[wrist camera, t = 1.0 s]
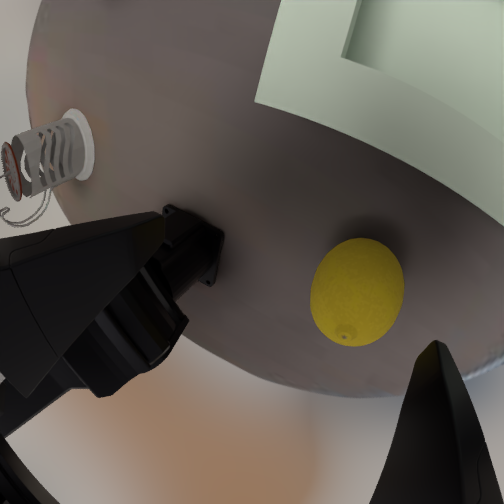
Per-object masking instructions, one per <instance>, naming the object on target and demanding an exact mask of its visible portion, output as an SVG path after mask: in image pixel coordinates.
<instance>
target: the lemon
mask: <svg viewBox="0 0 504 504" xmlns="http://www.w3.org/2000/svg"><path fill="white" fill-rule="evenodd" d="M403 295H404V278H403V273H402V269H401V266H400V264H399V262H398V260H397V258H396V256H395V255H394V254H393V253H392V252H391V251H390V250H389V249H388V248H387V247H386V246H385V245H383V244H381V243H380V242H378V241H375V240H372V239H367V238H355V239H349V240H347V241H344V242H342V243H340V244H338V245H337V246H336V247H334V248H333V249H332V250H330V251H329V252H328V253H327V254H326V256H325V257H324V259H323V260H322V261H321V263H320V264H319V266H318V267H317V270H316V273H315V276H314V279H313V282H312V286H311V295H310V307H311V312H312V316H313V319H314V321H315V323H316V325H317V326H318V328H319V329H320V331H321V332H322V333H323V334H324V335H325V336H326V337H328V338H329V339H331V340H332V341H334V342H336V343H338V344H341V345H345V346H363V345H366V344H369V343H372V342H374V341H376V340H377V339H379V338H381V337H382V336H383V335H384V334H385V333H386V332H387V331H388V330H389V329H390V328H391V326H392V325H393V324H394V322H395V320H396V318H397V315H398V313H399V311H400V309H401V306H402V302H403Z"/></svg>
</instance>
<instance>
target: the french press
mask: <svg viewBox="0 0 504 504" xmlns="http://www.w3.org/2000/svg"><path fill="white" fill-rule="evenodd" d="M46 130H47V131H46ZM51 130H52V131H54V133H53V136H52V139H51V134H50V133H51ZM38 132H39V136H38V135H37V134H36V133H38ZM43 134H44V135H45V139H44V143H43V146H42V145H41V139H42V136H43ZM46 145H47V146H46ZM41 148H42V149H41ZM45 148H46V154H45V152H44V151H45ZM23 150H25V152H26V156H25V160H24V162H25V170H26V172H27V174H28V175H29V177H30V178H31V181H32V182H29V181H27V180H26V179H25V177H24V176H23V174H22V172H21V167H20V161H21V157H22V154H23ZM1 153H2V154H1V155H2V157H1V158H2V159H1V160H2V162H3V163H2V164H3V169H4V171H3V172H4V175H2V176H0V178H2V177H4V176H5V177H6V178H5V179H6V182H7V186H8V189H9V191H11V192H10V193H12V194H11V195H12V197H13V198H14V200H16V201H20V200H21V197H22V193H23V195H25V196H26V197H28V196H30V195H31V197H33V196H35V195H37V194H39V193H41V192H43V191H45V192H44V198H43V201H42V203H41V206H40V207H39V208H38V210H37V211H36V212H35V213H34V214H33V215H32V216H30V217H29V218H28V219H26V220H24V221H21V222H10V221H8V220H5V219H4V218H3V216H4V215H5V214H6V213H7V212H9V210H10V208H8V207H5V208H3V209H1V210H0V218H1V219H2V220H3V221H5V222H6V223H7V224H8V225H10V226H12V227H25V226H28V225H30V224H31V223H33V222H34V221H36V220H37V219H38V218H39V217H40V216H42V214H43V213H44V212H45V210H46V208H47V206H48V204H49V201H50V196H51V191H52V189H53V188H54V187H56V186H58V185H60V184H62V183H65V182H67V181H69V180H71V179H73V178H76V179H78V180H80V181H82V180H87V179H88V177H89V176H90V175H91V173H92V170H93V165H94V161H95V159H94V142H93V137H92V132H91V129H90V127H89V124H88V122H87V120H86V117H85V116H84V115H83V114H82V113H81V112H80V111H79V110H77V109H72V108H71V109H70V110H68V111H67V112H66V113H65V114H64V116H63V118H62V119H61V120H58V121H54V122H51V123H48V124H45V125H42V126H39V127H36V128H34V129H31V130H28V131H26V132H23V133H20V134H18V135H15V136H14V137H13V140H12V144H11V145H10V144H9V143H7V142H5V143H4V144H3V145H2V151H1ZM40 158H41V163H42V165H43V167H44V173H43V172H42V171H41V170H40V168H39V165H40ZM49 163H51V164H52V166H53V169H54V171H53V170H51V169H50V168H49ZM29 167H30V168H29ZM39 175H40V176H41V177H39ZM49 188H51V189H50V192H49V198H48V202H47V204H46V207H45V209H44V210H43V211H42V213H41V214H40V215H39V216H38V217H37V218H36V219H34V220H33V221H31V222H29V223H27V224H24V225H14V224H21V223H24V222H26V221H28V220H29V219H31V218H32V217H33V216H34V215H35V214H37V212H38V211H39V210H40V209H41V207H42V205H43V203H44V201H45V196H46V190H47V189H49ZM31 197H30V198H31ZM6 209H8V210H7V211H5V212H3V213H2V216H1V212H2V211H4V210H6Z"/></svg>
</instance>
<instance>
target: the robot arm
mask: <svg viewBox="0 0 504 504" xmlns="http://www.w3.org/2000/svg"><path fill="white" fill-rule="evenodd" d="M216 234H217V235H218V237H217V235H216ZM223 238H224V235H223V233H222V231H220V230H219V229H217V228H215V227H213V226H211V225H209V224H207V223H205V222H203V221H201V220H199V219H197V218H195V217H193V216H191V215H189V214H187V213H185V212H183V211H181V210H179V209H177V208H175V207H173V206H171V205H166V206H164V207H163V212H162V215H161V214H159V213H157V212H154V211H151V212H145V213H138V214H132V215H126V216H120V217H114V218H108V219H102V220H96V221H91V222H86V223H80V224H75V225H70V226H65V227H60V228H56V229H50V230H45V231H40V232H36V233H31V234H25V235H19V236H13V237H8V238H1V239H0V504H60V503H59V502H57V500H56V499H55V498H54V497H53V496H52V495H51V494H50V493H49V492H48V491H47V490H46V489H45V488H44V487H43V486H42V485H41V484H40V483H39V481H38V480H37V479H36V478H35V477H34V476H33V475H32V473H31V472H30V471H29V470H28V469H27V467H26V466H25V465H24V464H23V463H22V461H21V460H20V459H19V457H18V456H17V455H16V453H15V452H14V451H13V449H12V448H11V447H10V445H9V444H8V442H7V441H6V440H5V438H6V437H7V436H9V435H10V434H11V433H13V432H14V431H16V430H17V429H18V428H19V427H21V426H22V425H23V424H25V423H26V422H27V421H29V420H30V419H32V418H33V417H34V416H35V415H37V414H38V413H40V412H41V411H42V410H43V409H45V408H46V407H47V406H49V405H50V404H51V403H53V402H54V401H56V400H57V399H58V398H59V397H61V396H62V395H64V394H65V393H66V392H68V391H69V390H71V389H90V391H92V393H93V394H94V395H95V396H96V397H98V398H101V397H106V396H111V395H113V394H114V393H115V392H116V391H118V390H119V389H120V388H121V387H122V386H123V385H124V384H126V383H127V382H128V381H130V380H131V379H132V378H134V377H135V376H137V375H138V374H141V373H145V372H148V371H150V370H152V369H154V368H155V367H157V366H158V365H159V364H161V363H162V362H163V361H164V360H165V359H166V358H167V357H168V355H169V354H170V352H171V351H172V349H173V347H174V345H175V344H176V342H177V340H178V339H179V337H180V335H181V334H182V332H183V330H184V329H185V327H186V325H187V324H188V322H189V319H188V318H187V316H186V315H184V314H183V312H182V311H181V310H180V308H179V307H178V305H177V304H176V301H177V300H178V299H179V298H180V297H181V296H182V295H183V294H184V293H185V292H186V291H187V290H188V289H189V288H190V287H191V286H192V285H193V284H194V283H195V282H196V281H200V282H202V283H203V284H205V285H207V286H209V287H211V286H212V285H213V284H214V283H215V279H216V274H217V268H218V263H219V258H220V253H221V248H222V243H223ZM369 504H504V502H503V499H502V495H501V492H500V488H499V484H498V481H497V478H496V475H495V471H494V468H493V465H492V461H491V458H490V455H489V451H488V448H487V444H486V442H485V438H484V435H483V432H482V429H481V426H480V423H479V420H478V417H477V414H476V412H475V409H474V406H473V404H472V401H471V399H470V396H469V394H468V391H467V389H466V387H465V384H464V382H463V380H462V377H461V375H460V373H459V371H458V368H457V366H456V364H455V362H454V360H453V358H452V356H451V354H450V351H449V349H448V347H447V346H446V344H444V343H442V342H440V341H438V340H434V341H432V342H431V343H430V344H429V345H428V346H427V348H426V349H425V350H424V351H423V352H422V353H421V354H420V355H419V356H418V358H417V359H416V362H415V365H414V368H413V372H412V375H411V379H410V382H409V385H408V389H407V392H406V395H405V398H404V401H403V404H402V408H401V411H400V415H399V419H398V423H397V427H396V431H395V434H394V437H393V441H392V444H391V447H390V450H389V453H388V456H387V459H386V462H385V465H384V468H383V471H382V473H381V476H380V479H379V481H378V484H377V486H376V489H375V491H374V494H373V496H372V498H371V501H370V503H369Z"/></svg>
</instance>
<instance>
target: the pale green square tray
mask: <svg viewBox="0 0 504 504" xmlns="http://www.w3.org/2000/svg"><path fill="white" fill-rule="evenodd" d="M254 102H257V103H260V104H264V105H267V106H270V107H274V108H277V109H280V110H283V111H286V112H289V113H292V114H295V115H298V116H301V117H304V118H306V119H309V120H312V121H315V122H317V123H320V124H322V125H325V126H328V127H330V128H333V129H335V130H338V131H340V132H342V133H345V134H347V135H349V136H352V137H354V138H356V139H359V140H361V141H363V142H365V143H367V144H370V145H372V146H374V147H376V148H378V149H380V150H382V151H384V152H386V153H388V154H390V155H392V156H394V157H396V158H398V159H400V160H402V161H404V162H406V163H408V164H409V165H411V166H413V167H415V168H417V169H418V170H420V171H422V172H424V173H425V174H427V175H429V176H431V177H432V178H434V179H436V180H437V181H439V182H441V183H442V184H444V185H446V186H447V187H449V188H450V189H452V190H453V191H455V192H457V193H458V194H460V195H461V196H463V197H464V198H466V199H467V200H468V201H470V202H471V203H473V204H474V205H476V206H477V207H479V208H480V209H481V210H483V211H484V212H485V213H487V214H488V215H489V216H491V217H492V218H493V219H495V220H496V221H497V222H499V223H500V224H501V225H502V226H504V0H282V1H281V4H280V7H279V11H278V14H277V18H276V21H275V25H274V29H273V32H272V36H271V39H270V43H269V47H268V50H267V54H266V58H265V62H264V66H263V69H262V73H261V77H260V81H259V85H258V89H257V93H256V97H255V101H254Z"/></svg>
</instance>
